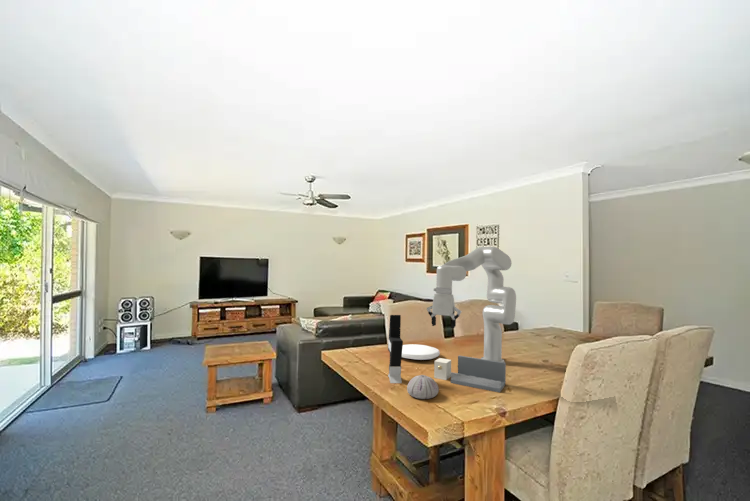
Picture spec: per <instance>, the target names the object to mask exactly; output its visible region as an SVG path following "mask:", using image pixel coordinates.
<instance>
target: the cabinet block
mask: <svg viewBox="0 0 750 501" xmlns="http://www.w3.org/2000/svg"><path fill="white" fill-rule="evenodd" d="M433 366H434V368H433V369H434V370H433V372H434V373H433V375H434V376H433V378H434V379H439V380H444V381H447V380H448V379H451V372H452V359H448V358H441V357H438V358H436V360H434V365H433Z"/></svg>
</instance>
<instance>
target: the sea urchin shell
mask: <svg viewBox="0 0 750 501" xmlns="http://www.w3.org/2000/svg"><path fill="white" fill-rule="evenodd" d="M406 386H407V387H406V390H407V391H406V392H407V394H408V395H410V396H411V397H413V398H415V399H418V400H425V399H426V400H429V399H432V398H433V399H434V397H436V396H437V395H438V393H439V392H440V391H439V390H440V387H439V385H438V383H437V382H436V381H435V380H434V379H433V377H430V376H428V375H426V374H420V375H416V376H413V377H412V378H411V379H410V380H409V382H408V384H407V385H406Z"/></svg>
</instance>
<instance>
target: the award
mask: <svg viewBox="0 0 750 501" xmlns="http://www.w3.org/2000/svg"><path fill="white" fill-rule="evenodd" d="M401 319H402V317H401V314H390V315H389V323H388V324H389V325H388V326H389V328H388V343H387V351H388V352H389V365H388V375H387V377H388V378H389V383H390V384H402V376H401V373H402V358H403V357H402V347H403V345H404V341H403V339H402V338H401V323H402V322H401V321H402V320H401Z"/></svg>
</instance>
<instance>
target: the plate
mask: <svg viewBox="0 0 750 501" xmlns="http://www.w3.org/2000/svg"><path fill="white" fill-rule="evenodd" d="M440 352H441V351H440V349H438V348H436V347H433V346H430V345H426V344H415V343H414V344H412V343H411V344H403V347H402V358H404V359H411V360H416V361H419V360H420V361H422V360H423V361H424V360H425V361H426V360H432V359H437V357H438V358H439V356H440V354H441V353H440Z"/></svg>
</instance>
